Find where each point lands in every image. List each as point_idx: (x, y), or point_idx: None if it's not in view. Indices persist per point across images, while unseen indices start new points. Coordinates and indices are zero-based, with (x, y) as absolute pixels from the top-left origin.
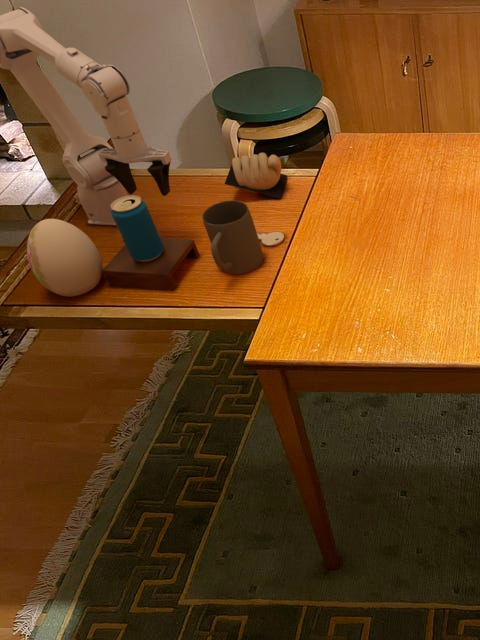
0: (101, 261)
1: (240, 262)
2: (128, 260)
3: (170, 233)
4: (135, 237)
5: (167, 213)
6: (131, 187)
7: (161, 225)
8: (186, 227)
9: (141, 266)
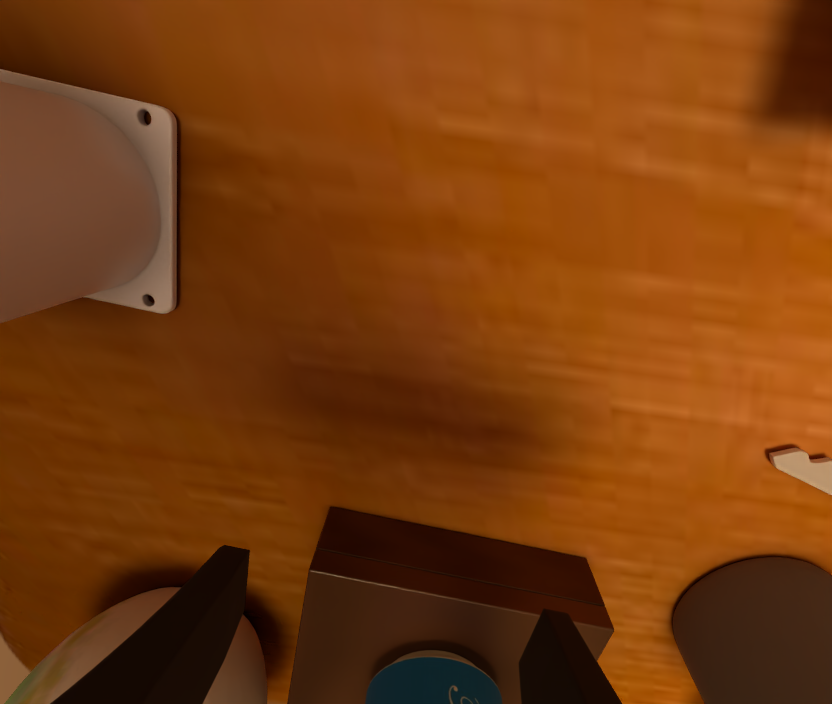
0: (254, 689)
1: None
2: (361, 699)
3: (427, 398)
4: None
5: (357, 205)
6: (220, 638)
7: (361, 325)
8: (496, 360)
9: None
